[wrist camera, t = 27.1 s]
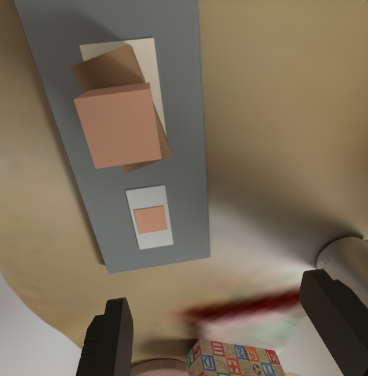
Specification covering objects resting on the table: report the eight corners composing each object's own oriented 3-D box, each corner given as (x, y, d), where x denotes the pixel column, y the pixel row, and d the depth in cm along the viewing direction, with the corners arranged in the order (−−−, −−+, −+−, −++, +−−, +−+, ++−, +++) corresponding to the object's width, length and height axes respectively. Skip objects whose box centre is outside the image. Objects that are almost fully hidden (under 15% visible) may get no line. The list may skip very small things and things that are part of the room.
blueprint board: (190, -74, 21) (194, -85, 19) (208, 250, 39) (211, 258, 38) (-1, -62, 20) (-14, -72, 18) (109, 266, 38) (108, 275, 37)
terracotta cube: (149, 82, 20) (150, 89, 16) (159, 139, 23) (161, 158, 18) (89, 90, 20) (73, 99, 16) (105, 147, 22) (95, 168, 18)
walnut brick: (132, 46, 23) (128, 44, 19) (168, 141, 28) (171, 156, 24) (84, 65, 23) (69, 67, 19) (128, 155, 28) (124, 173, 24)
